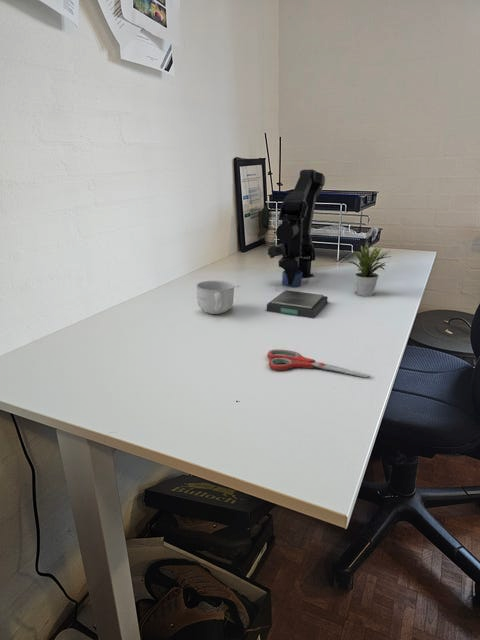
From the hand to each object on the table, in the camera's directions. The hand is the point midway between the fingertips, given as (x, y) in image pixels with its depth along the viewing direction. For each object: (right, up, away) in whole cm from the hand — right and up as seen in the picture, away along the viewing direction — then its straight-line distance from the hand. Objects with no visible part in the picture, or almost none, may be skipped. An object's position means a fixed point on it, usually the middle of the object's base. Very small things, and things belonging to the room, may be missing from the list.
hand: (292, 281), depth 140 cm
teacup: (-25, -11, -25) cm, 37 cm away
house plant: (+22, -6, -12) cm, 26 cm away
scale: (-1, -9, -21) cm, 23 cm away
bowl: (0, -1, 0) cm, 1 cm away
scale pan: (-1, -8, -22) cm, 23 cm away
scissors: (-2, -23, -56) cm, 60 cm away
